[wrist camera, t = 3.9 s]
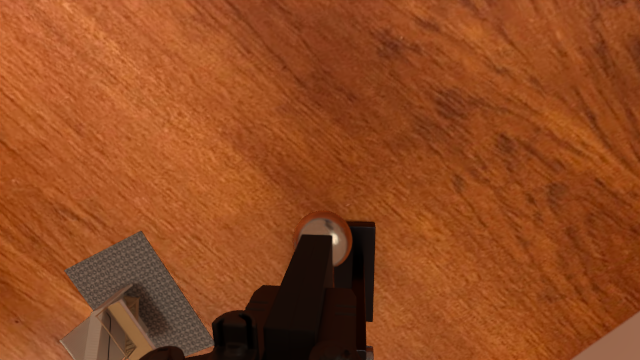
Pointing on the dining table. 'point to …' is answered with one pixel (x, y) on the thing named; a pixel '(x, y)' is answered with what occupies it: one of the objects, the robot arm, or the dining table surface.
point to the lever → (327, 233)
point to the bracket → (360, 280)
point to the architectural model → (131, 306)
